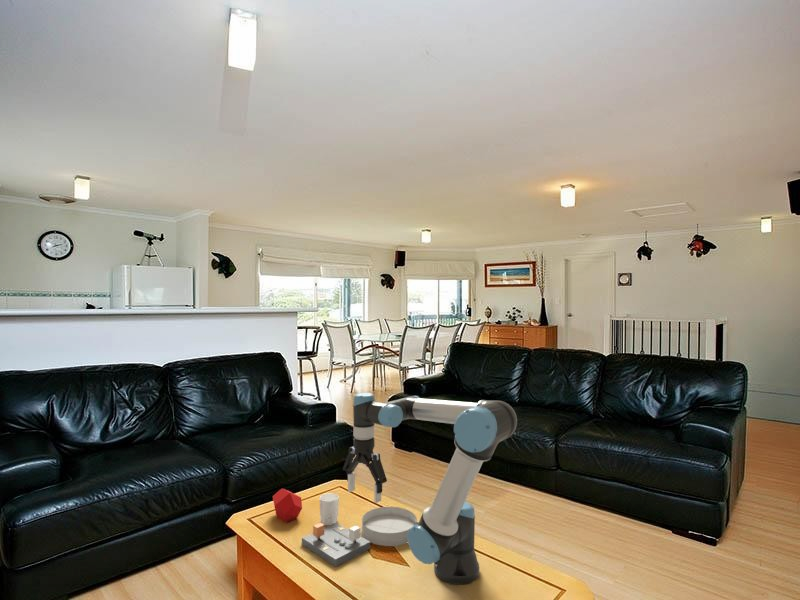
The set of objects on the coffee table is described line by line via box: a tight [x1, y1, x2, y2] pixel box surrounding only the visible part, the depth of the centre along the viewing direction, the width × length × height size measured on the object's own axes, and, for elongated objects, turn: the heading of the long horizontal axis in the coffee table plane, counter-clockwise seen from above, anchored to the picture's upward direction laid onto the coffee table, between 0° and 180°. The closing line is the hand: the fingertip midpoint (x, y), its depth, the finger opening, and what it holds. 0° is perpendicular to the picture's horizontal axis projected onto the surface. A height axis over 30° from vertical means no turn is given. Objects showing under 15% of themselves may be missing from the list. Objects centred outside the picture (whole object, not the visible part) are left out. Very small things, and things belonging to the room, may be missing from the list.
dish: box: [360, 506, 418, 547], centre depth 182 cm, size 22×22×5 cm
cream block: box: [348, 525, 361, 542], centre depth 169 cm, size 2×3×5 cm
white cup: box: [319, 492, 340, 526], centre depth 190 cm, size 8×8×10 cm
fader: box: [312, 522, 325, 539], centre depth 171 cm, size 2×3×5 cm
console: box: [301, 522, 371, 567], centre depth 171 cm, size 20×16×3 cm
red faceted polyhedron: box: [272, 488, 303, 523], centre depth 193 cm, size 12×12×15 cm
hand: (364, 496), depth 166 cm, fingers open, 13 cm apart
